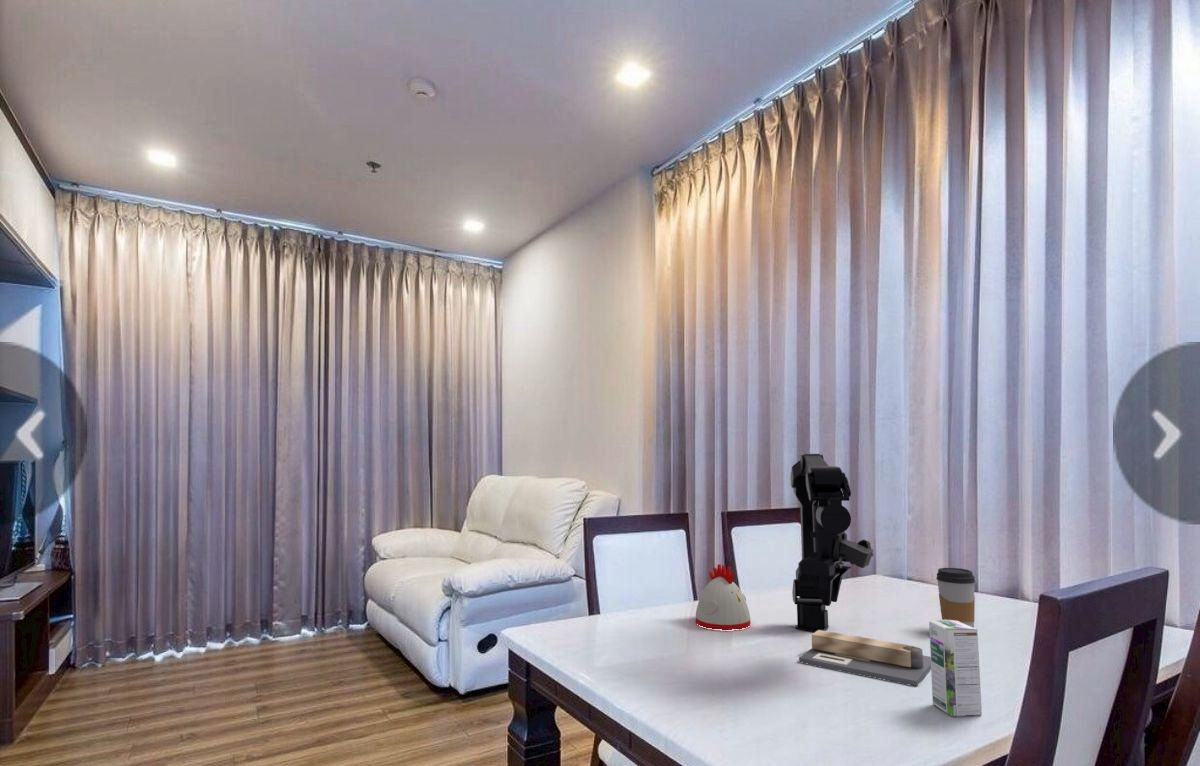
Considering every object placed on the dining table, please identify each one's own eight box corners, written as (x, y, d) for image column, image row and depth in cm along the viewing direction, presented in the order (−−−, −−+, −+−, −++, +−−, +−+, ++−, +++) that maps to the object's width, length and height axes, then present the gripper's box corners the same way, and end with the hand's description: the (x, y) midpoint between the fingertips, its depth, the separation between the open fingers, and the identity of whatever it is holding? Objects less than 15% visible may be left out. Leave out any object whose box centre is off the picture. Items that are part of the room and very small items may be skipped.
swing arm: (812, 649, 142) (811, 634, 142) (819, 644, 146) (818, 629, 146) (920, 669, 129) (919, 653, 129) (925, 663, 132) (924, 647, 132)
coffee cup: (984, 640, 152) (980, 574, 153) (945, 638, 153) (941, 573, 155) (971, 630, 160) (967, 567, 161) (934, 628, 161) (931, 566, 163)
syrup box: (931, 704, 115) (926, 619, 116) (962, 702, 116) (957, 618, 117) (951, 717, 109) (945, 628, 111) (984, 716, 110) (978, 627, 111)
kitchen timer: (726, 635, 158) (724, 572, 159) (684, 623, 169) (683, 564, 170) (761, 624, 167) (759, 565, 168) (720, 614, 177) (718, 558, 179)
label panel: (799, 662, 137) (798, 656, 138) (826, 642, 151) (826, 637, 151) (917, 686, 123) (916, 679, 123) (936, 662, 137) (935, 656, 137)
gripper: (852, 535, 124) (856, 619, 122) (880, 525, 139) (884, 600, 137) (796, 531, 131) (799, 610, 129) (828, 521, 145) (831, 593, 144)
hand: (830, 603), depth 135 cm, fingers open, 4 cm apart
